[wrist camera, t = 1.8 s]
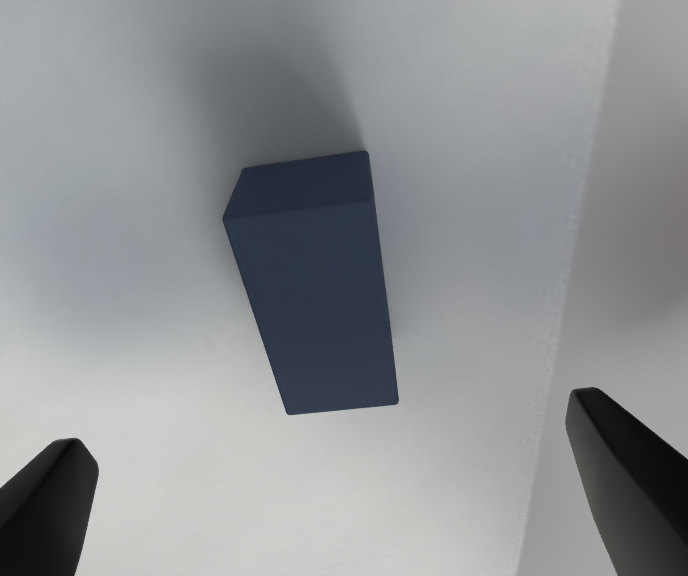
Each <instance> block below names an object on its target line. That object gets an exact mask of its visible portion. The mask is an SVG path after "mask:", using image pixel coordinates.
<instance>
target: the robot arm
mask: <svg viewBox="0 0 688 576" xmlns="http://www.w3.org/2000/svg"><path fill="white" fill-rule="evenodd" d="M566 430H567V434H568V437H569V441H570V444H571V447H572V450H573V454H574V456H575V460H576V464H577V467H578V470H579V473H580V476H581V480H582V483H583V486H584V490H585V493H586V496H587V499H588V503H589V506H590V509H591V512H592V515H593V518H594V520H595V523H596V525H597V528H598V530H599V533H600V535H601V538H602V540H603V542H604V544H605V547H606V549H607V552H608V554H609V556H610V558H611V560H612V563H613V565H614V568H615V570H616V572H617V575H618V576H688V459H687V458H685V457H684V456H683V455H682V454H680V453H679V452H678V451H677V450H675V449H674V448H673V447H671V446H670V445H669V444H668V443H666V442H665V441H664V440H663V439H661V438H660V437H659V436H658V435H657V434H655V433H654V432H653V431H651V430H650V429H649V428H648V427H646V426H645V425H644V424H643V423H641V422H640V421H639V420H638V419H637V418H635V417H634V416H633V415H632V414H630V413H629V412H628V411H626V410H625V409H624V408H622V407H621V406H620V405H619V404H618V403H616V402H615V401H614V400H613V399H611V398H610V397H609V396H608V395H606V394H605V393H604V392H602V391H601V390H600V389H598V388H594V387H590V388H580V389H574V390H572V392H571V393H570V398H569V403H568V408H567V414H566ZM98 475H99V468H98V464H97V462H96V460H95V459H94V457H93V456H92V455H91V453H90V452H89V451H88V449H87V448H86V447H85V445H84V444H83V443H82V441H81V440H79V439H77V438H68V439H59V440H56V441H54V442H52V443H51V444H49V445H48V446H47V447H46V448H45V449H44V450H43V451H42V452H40V453H39V454H38V455H37V456H36V457H35V458H34V459H33V460H31V461H30V462H29V463H28V464H27V465H26V466H25V467H24V468H22V469H21V470H20V471H19V472H18V473H17V474H16V475H15V476H14V477H12V478H11V479H10V480H9V481H8V482H7V483H6V484H5V485H3V486H2V487H1V488H0V576H74V575H75V572H76V569H77V566H78V562H79V559H80V556H81V552H82V548H83V544H84V539H85V535H86V530H87V526H88V521H89V517H90V512H91V508H92V503H93V498H94V494H95V489H96V485H97V480H98Z"/></svg>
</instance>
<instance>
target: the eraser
mask: <svg viewBox="0 0 688 576" xmlns="http://www.w3.org/2000/svg"><path fill="white" fill-rule="evenodd" d="M222 220H223V223H224V226H225V229H226V232H227V235H228V238H229V241H230V244H231V247H232V250H233V253H234V256H235V259H236V262H237V265H238V268H239V271H240V274H241V277H242V280H243V283H244V286H245V289H246V292H247V295H248V298H249V301H250V304H251V307H252V311H253V314H254V317H255V320H256V323H257V326H258V329H259V332H260V335H261V338H262V341H263V344H264V347H265V350H266V353H267V356H268V359H269V362H270V365H271V368H272V371H273V374H274V377H275V380H276V383H277V386H278V389H279V392H280V395H281V398H282V401H283V404H284V407H285V410H286V413H287V414H288V415H296V414H307V413H317V412H327V411H337V410H347V409H357V408H368V407H378V406H388V405H396V404H398V401H399V397H398V389H397V380H396V371H395V362H394V353H393V345H392V336H391V328H390V320H389V312H388V304H387V296H386V288H385V280H384V272H383V264H382V256H381V248H380V240H379V232H378V224H377V216H376V208H375V200H374V192H373V184H372V175H371V167H370V159H369V154H368V152H367V151H360V152H353V153H346V154H339V155H332V156H325V157H318V158H311V159H305V160H298V161H291V162H284V163H277V164H270V165H263V166H256V167H249V168H244V169H243V170H242V172H241V174H240V176H239V179H238V181H237V184H236V186H235V188H234V191H233V193H232V195H231V198H230V200H229V203H228V205H227V207H226V210H225V212H224V215H223V219H222Z"/></svg>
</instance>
